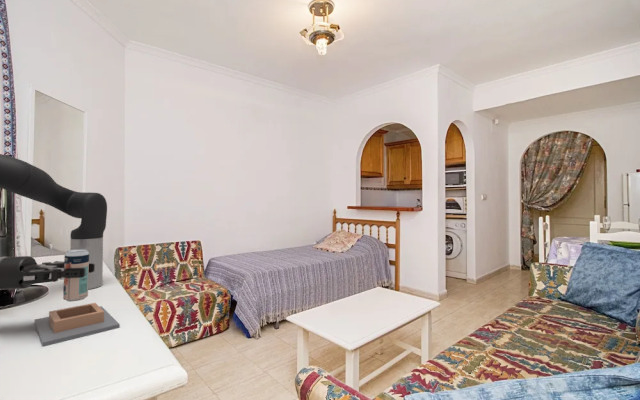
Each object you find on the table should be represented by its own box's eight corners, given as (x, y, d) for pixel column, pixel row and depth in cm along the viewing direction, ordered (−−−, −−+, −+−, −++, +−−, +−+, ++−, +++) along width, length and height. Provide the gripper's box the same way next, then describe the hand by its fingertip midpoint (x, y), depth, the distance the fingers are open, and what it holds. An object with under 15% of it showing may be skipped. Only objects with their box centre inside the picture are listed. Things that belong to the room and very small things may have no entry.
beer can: (67, 297, 78) (68, 249, 78) (90, 295, 80) (91, 248, 80) (60, 303, 74) (61, 252, 74) (84, 301, 75) (86, 251, 76)
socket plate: (34, 322, 78) (34, 309, 78) (101, 309, 88) (101, 297, 88) (42, 346, 66) (42, 330, 66) (119, 327, 76) (119, 313, 76)
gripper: (-19, 262, 66) (76, 260, 71) (24, 252, 80) (101, 250, 84) (-20, 298, 66) (75, 293, 71) (23, 281, 80) (100, 278, 84)
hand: (89, 270), depth 78 cm, fingers closed on beer can, 4 cm apart
